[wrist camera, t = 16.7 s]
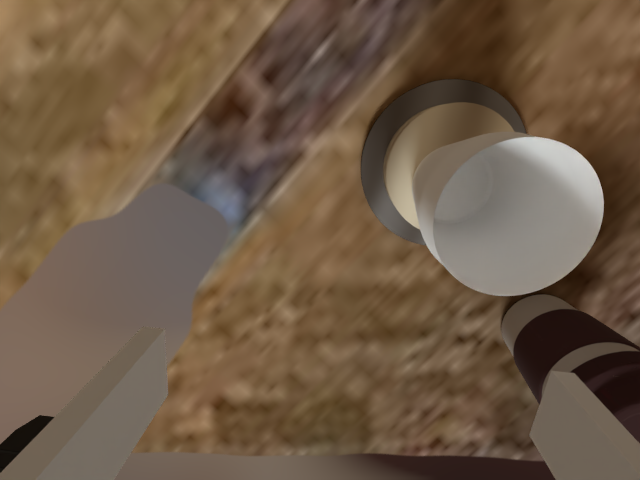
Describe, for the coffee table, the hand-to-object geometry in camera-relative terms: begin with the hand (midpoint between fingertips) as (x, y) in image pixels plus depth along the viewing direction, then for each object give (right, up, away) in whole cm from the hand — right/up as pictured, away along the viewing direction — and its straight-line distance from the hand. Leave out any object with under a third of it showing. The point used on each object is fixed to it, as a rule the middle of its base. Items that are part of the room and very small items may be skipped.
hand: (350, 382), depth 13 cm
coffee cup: (+22, -4, +26) cm, 34 cm away
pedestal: (+10, +12, +22) cm, 27 cm away
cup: (+10, +10, +18) cm, 23 cm away
